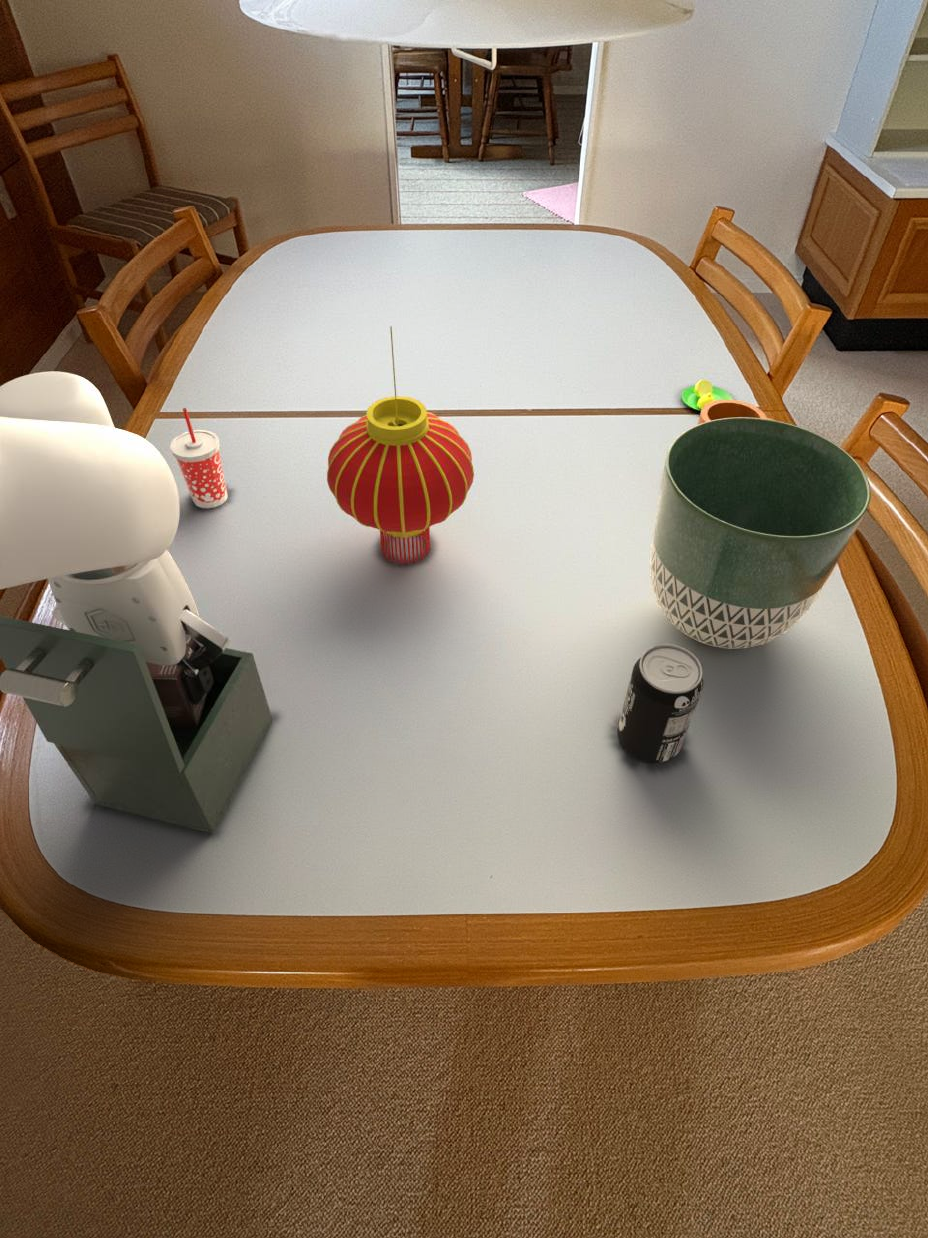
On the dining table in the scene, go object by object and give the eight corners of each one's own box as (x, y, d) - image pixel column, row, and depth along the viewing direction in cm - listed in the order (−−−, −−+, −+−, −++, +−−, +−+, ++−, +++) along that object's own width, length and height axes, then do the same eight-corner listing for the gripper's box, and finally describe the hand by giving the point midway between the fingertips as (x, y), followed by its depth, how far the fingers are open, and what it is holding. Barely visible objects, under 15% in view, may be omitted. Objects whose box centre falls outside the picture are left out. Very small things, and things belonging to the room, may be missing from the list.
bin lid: (-14, 612, 58) (-61, 657, 55) (139, 644, 56) (100, 693, 53) (52, 734, 68) (16, 779, 65) (184, 766, 66) (155, 814, 63)
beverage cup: (218, 516, 105) (192, 426, 95) (179, 506, 107) (149, 417, 96) (241, 489, 109) (219, 400, 99) (203, 480, 111) (176, 392, 100)
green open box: (164, 695, 85) (134, 628, 77) (272, 719, 83) (252, 653, 75) (94, 804, 76) (51, 741, 68) (213, 834, 74) (184, 772, 66)
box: (197, 730, 72) (176, 680, 67) (132, 729, 73) (106, 679, 67) (213, 678, 77) (194, 627, 71) (151, 677, 77) (128, 626, 71)
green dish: (670, 394, 126) (674, 379, 124) (711, 383, 128) (715, 368, 126) (700, 420, 121) (705, 404, 119) (742, 408, 123) (747, 392, 121)
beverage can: (616, 711, 84) (634, 636, 75) (678, 718, 83) (705, 644, 74) (615, 763, 79) (635, 691, 70) (681, 771, 79) (710, 699, 70)
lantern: (486, 517, 105) (493, 299, 83) (450, 607, 94) (447, 382, 72) (367, 495, 108) (343, 279, 86) (318, 580, 97) (276, 356, 75)
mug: (774, 497, 108) (794, 442, 102) (685, 485, 110) (700, 430, 104) (771, 459, 114) (790, 405, 108) (687, 448, 116) (701, 394, 109)
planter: (673, 543, 102) (713, 396, 86) (822, 606, 94) (895, 458, 79) (601, 634, 91) (631, 486, 75) (763, 714, 83) (834, 567, 68)
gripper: (-33, 550, 58) (57, 696, 71) (180, 591, 55) (233, 736, 68) (29, 489, 63) (103, 637, 76) (227, 524, 60) (269, 671, 73)
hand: (164, 682), depth 72 cm, fingers closed on box, 6 cm apart
